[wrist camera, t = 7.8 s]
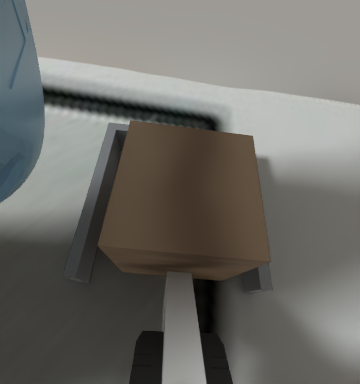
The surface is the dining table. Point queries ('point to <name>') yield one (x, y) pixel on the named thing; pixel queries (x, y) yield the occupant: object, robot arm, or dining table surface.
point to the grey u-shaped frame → (96, 209)
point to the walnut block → (185, 204)
